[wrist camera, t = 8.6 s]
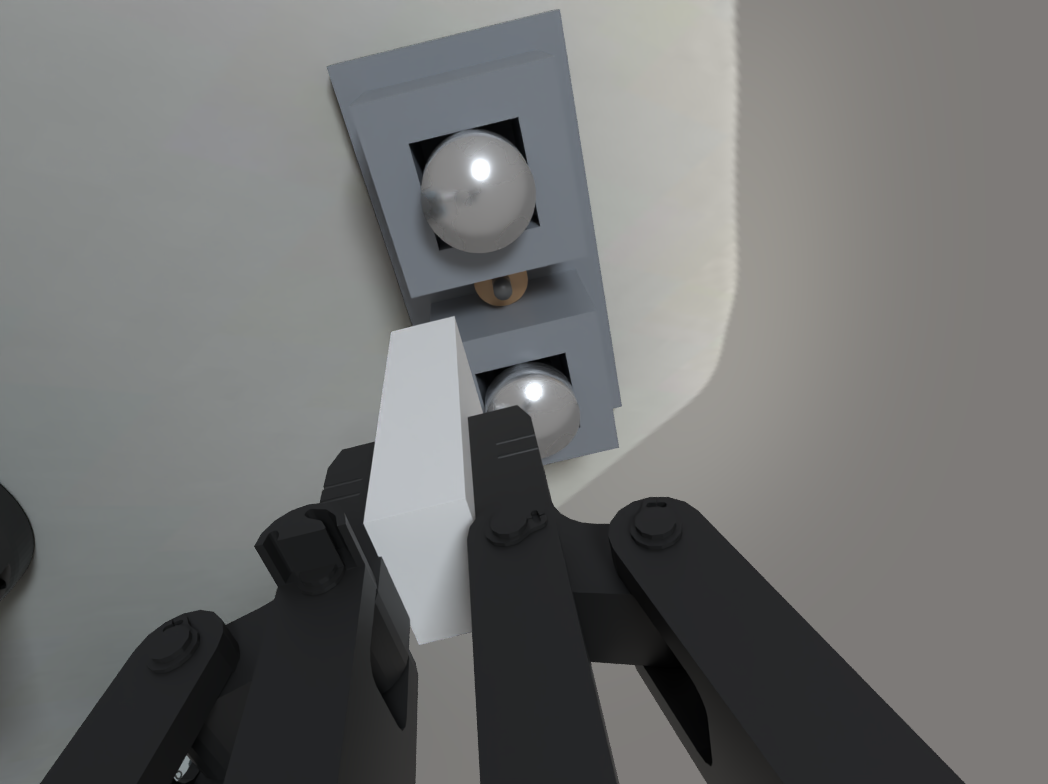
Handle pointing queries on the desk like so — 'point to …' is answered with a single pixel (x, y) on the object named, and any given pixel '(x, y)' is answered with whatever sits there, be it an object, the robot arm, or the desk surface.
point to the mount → (544, 246)
